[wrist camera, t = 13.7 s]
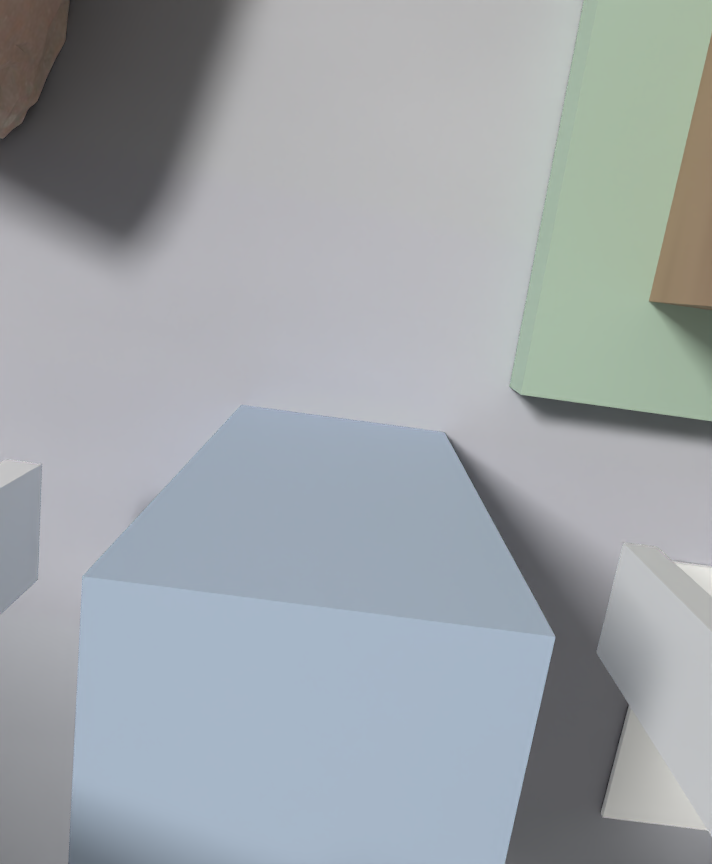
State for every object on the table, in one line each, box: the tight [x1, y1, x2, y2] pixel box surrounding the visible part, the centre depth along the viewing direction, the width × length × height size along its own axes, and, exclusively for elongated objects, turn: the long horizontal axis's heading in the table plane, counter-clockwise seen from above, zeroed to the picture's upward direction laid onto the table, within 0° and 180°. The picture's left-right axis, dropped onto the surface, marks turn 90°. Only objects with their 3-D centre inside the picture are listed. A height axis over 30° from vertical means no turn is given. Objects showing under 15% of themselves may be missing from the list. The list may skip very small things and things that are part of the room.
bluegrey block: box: [68, 405, 555, 864], centre depth 13 cm, size 5×5×10 cm
